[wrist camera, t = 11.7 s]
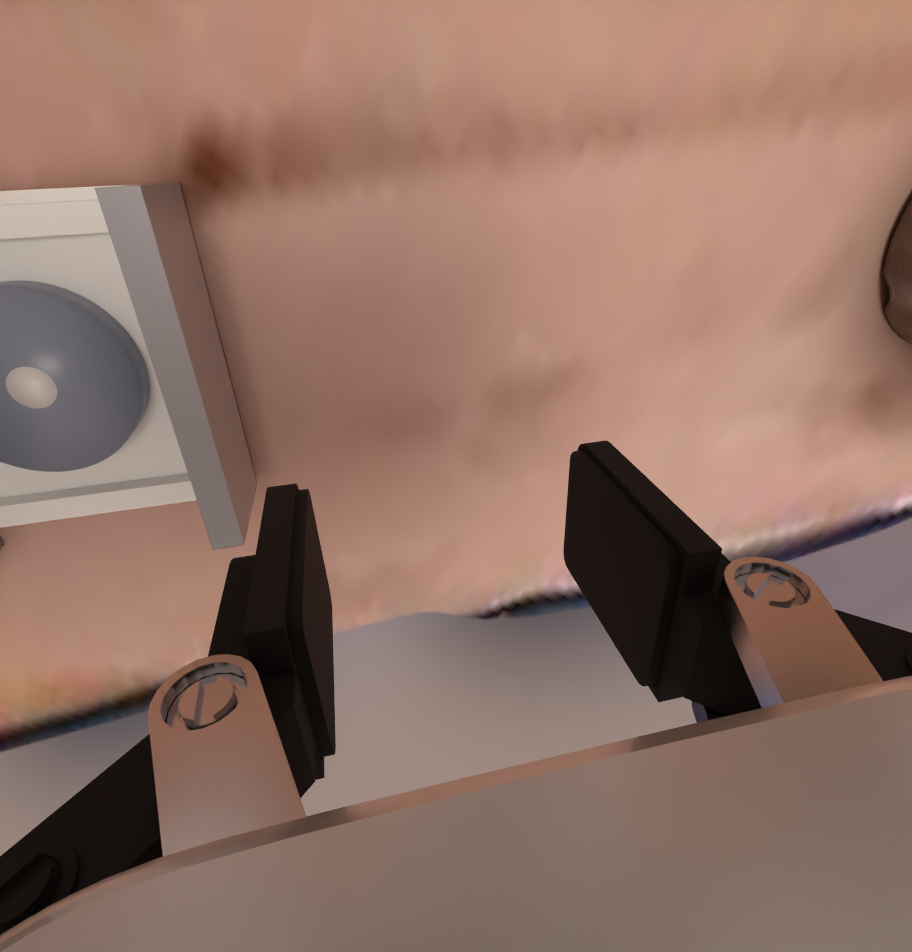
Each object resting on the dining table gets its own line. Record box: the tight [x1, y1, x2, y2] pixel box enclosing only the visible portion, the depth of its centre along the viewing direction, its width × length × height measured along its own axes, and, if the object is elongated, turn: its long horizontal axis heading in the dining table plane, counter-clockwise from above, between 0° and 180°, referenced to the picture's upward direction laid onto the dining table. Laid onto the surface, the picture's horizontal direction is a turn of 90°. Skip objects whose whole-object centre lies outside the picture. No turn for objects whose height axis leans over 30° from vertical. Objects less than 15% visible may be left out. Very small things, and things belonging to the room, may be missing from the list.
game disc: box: [0, 280, 150, 472], centre depth 21 cm, size 7×7×2 cm
